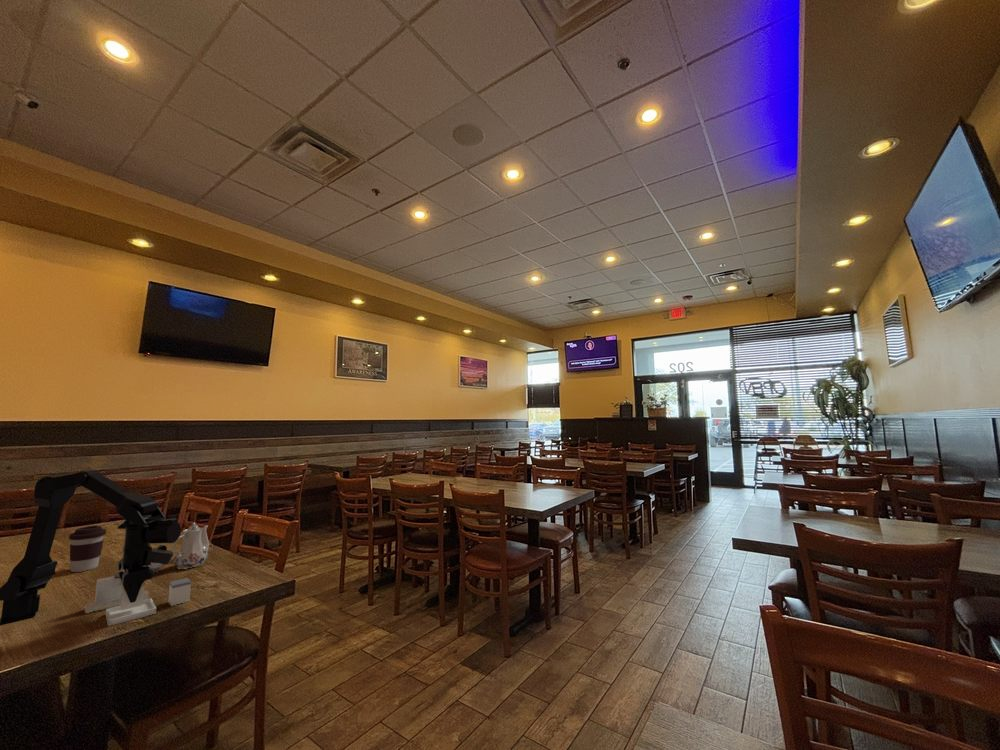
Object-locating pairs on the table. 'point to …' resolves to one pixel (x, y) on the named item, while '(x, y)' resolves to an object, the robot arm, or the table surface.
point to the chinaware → (189, 549)
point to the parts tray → (130, 612)
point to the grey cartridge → (179, 591)
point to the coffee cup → (86, 548)
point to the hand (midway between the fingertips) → (131, 599)
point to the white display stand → (108, 594)
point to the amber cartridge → (125, 600)
